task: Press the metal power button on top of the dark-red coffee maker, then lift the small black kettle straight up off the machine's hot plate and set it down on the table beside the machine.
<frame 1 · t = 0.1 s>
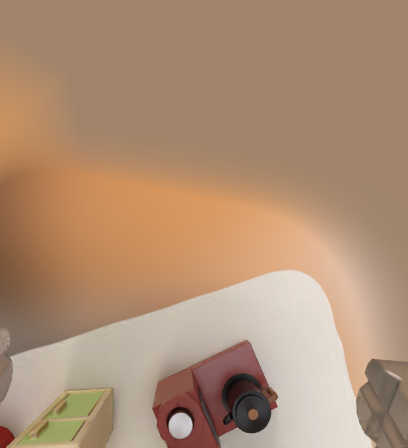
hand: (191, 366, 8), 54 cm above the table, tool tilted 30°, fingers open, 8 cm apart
coffee maker: (187, 406, 59), on the table
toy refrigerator: (89, 406, 58), on the table
power button: (180, 423, 45), point 14 cm above the table, slide at 0.1 cm
warming base: (232, 384, 60), on the table
kettle: (242, 396, 57), point 3 cm above the table, touching warming base
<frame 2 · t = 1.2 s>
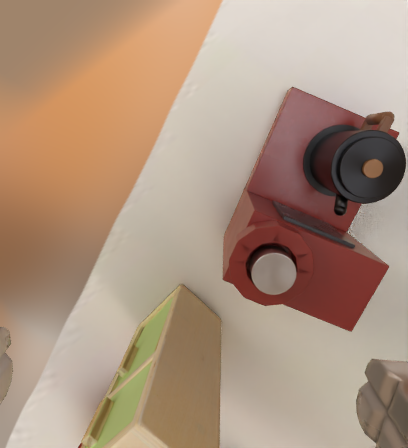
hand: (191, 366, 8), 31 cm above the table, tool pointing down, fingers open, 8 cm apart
coffee maker: (280, 231, 39), on the table
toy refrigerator: (177, 318, 42), on the table
power button: (272, 269, 24), point 14 cm above the table, slide at 0.1 cm
warming base: (314, 160, 37), on the table
kettle: (339, 161, 34), point 3 cm above the table, touching warming base
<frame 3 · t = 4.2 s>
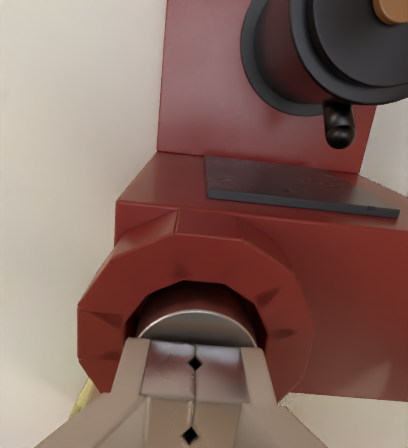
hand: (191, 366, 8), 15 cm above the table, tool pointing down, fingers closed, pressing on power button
coffee maker: (244, 203, 22), on the table
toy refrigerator: (130, 377, 27), on the table
power button: (195, 342, 9), point 14 cm above the table, slide at -0.5 cm, touching gripper
warming base: (267, 61, 20), on the table
kettle: (312, 41, 17), point 3 cm above the table, touching warming base
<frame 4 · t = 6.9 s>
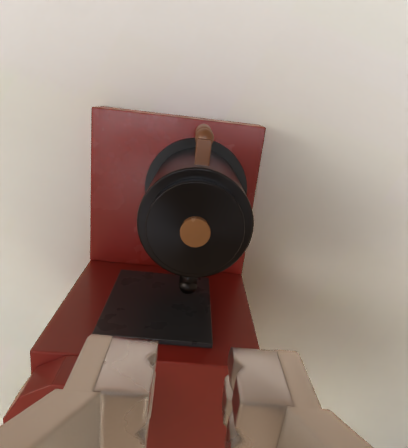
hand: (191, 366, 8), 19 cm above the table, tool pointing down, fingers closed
coffee maker: (166, 286, 29), on the table
warming base: (175, 188, 26), on the table
kettle: (196, 190, 23), point 3 cm above the table, touching warming base
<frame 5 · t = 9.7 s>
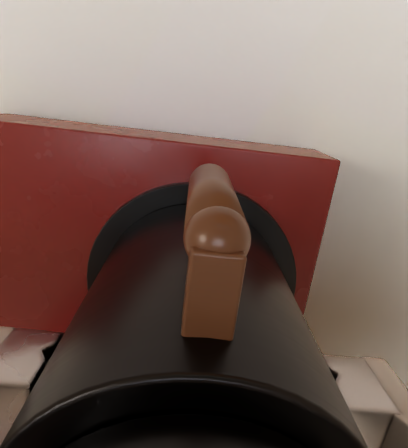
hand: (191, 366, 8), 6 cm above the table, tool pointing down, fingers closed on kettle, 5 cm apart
warming base: (154, 264, 14), on the table
kettle: (192, 286, 11), point 3 cm above the table, touching gripper, warming base
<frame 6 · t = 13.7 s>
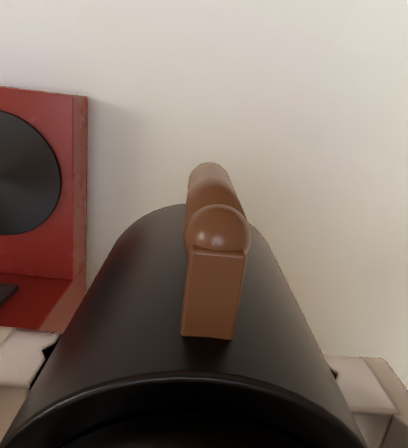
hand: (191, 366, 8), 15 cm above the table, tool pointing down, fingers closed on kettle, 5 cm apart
coffee maker: (4, 294, 24), on the table
kettle: (191, 285, 11), point 11 cm above the table, touching gripper
when the fingers open (3 cm above the table, at t = 16.4 s): kettle stays where it is, on the table.
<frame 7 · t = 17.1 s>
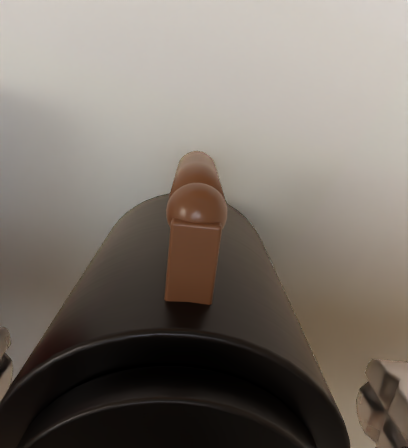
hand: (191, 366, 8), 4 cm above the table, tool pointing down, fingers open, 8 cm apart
kettle: (184, 272, 12), on the table
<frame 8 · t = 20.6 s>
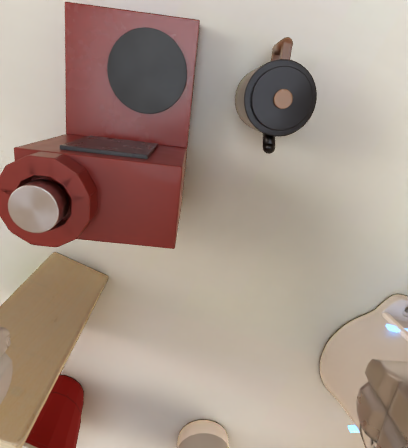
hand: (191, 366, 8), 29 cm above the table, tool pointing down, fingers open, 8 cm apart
coffee maker: (130, 168, 36), on the table
plastic cup: (60, 390, 45), on the table
spray bottle: (202, 436, 48), on the table
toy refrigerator: (67, 287, 40), on the table
power button: (39, 205, 22), point 14 cm above the table, slide at 0.1 cm
warming base: (134, 81, 33), on the table
kettle: (264, 99, 34), on the table
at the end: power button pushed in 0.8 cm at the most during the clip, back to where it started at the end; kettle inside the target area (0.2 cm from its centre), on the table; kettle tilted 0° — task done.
